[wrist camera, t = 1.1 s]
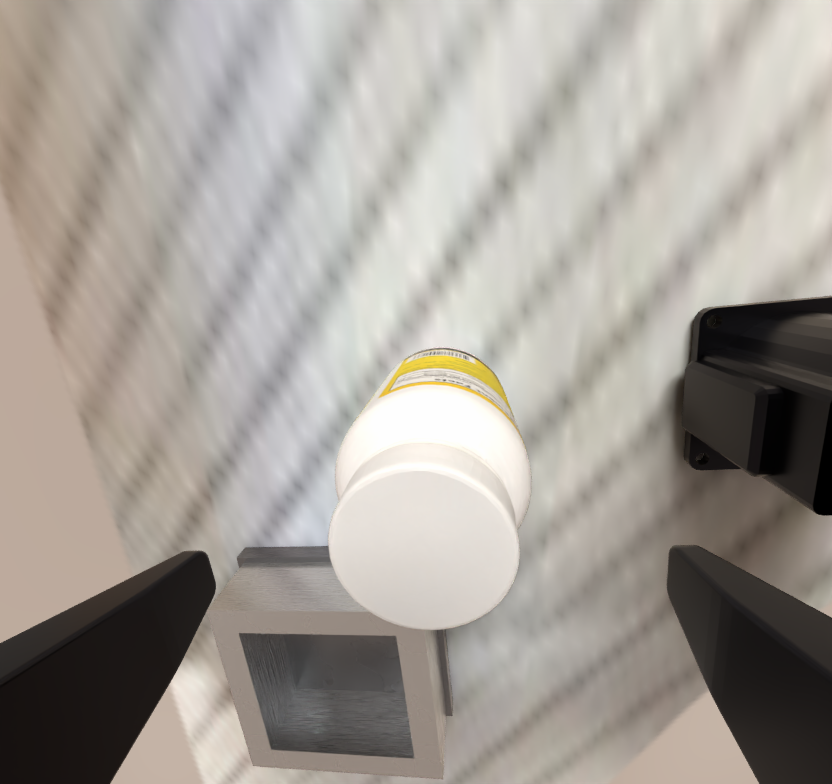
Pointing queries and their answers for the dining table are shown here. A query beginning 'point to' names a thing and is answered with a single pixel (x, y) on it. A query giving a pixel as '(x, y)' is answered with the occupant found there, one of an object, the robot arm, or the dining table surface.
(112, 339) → the dining table surface
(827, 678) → the robot arm
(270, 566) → the socket collar
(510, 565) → the supplement bottle
